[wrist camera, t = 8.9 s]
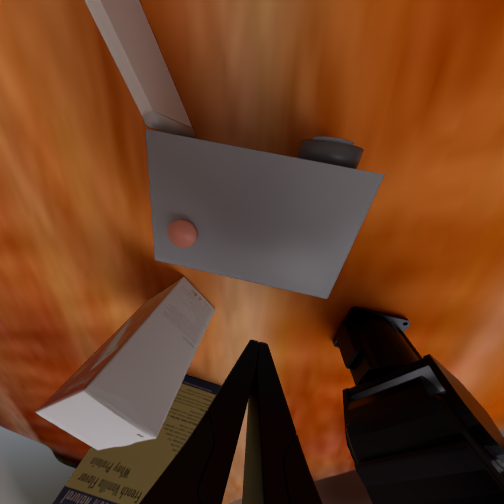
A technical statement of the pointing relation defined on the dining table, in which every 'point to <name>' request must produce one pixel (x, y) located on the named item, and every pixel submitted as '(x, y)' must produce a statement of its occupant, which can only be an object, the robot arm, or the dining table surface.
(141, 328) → the small box
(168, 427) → the protein box
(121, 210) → the dining table surface
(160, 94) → the side door
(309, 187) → the camera block
